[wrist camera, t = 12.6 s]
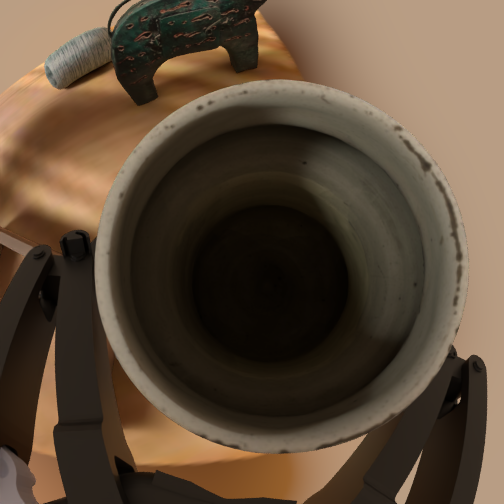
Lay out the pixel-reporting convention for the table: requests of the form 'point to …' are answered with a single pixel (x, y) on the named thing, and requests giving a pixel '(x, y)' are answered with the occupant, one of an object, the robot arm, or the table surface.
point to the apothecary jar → (280, 267)
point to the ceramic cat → (179, 37)
